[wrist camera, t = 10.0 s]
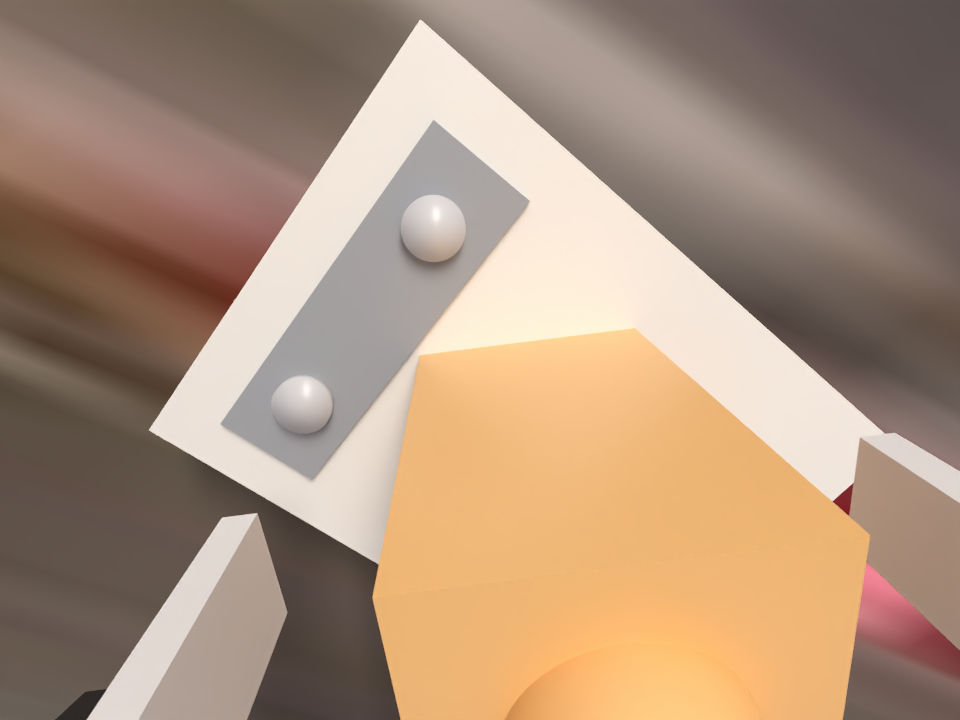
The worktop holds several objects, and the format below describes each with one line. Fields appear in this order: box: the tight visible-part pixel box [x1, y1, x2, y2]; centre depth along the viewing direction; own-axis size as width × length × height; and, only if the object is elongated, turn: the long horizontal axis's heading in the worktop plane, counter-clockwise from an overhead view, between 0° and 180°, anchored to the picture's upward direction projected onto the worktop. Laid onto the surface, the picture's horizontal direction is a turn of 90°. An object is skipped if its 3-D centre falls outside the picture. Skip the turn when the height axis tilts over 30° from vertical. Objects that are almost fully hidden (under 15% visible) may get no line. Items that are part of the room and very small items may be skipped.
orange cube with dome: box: [372, 328, 870, 720], centre depth 11 cm, size 6×6×11 cm
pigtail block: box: [149, 20, 884, 564], centre depth 15 cm, size 18×13×7 cm
